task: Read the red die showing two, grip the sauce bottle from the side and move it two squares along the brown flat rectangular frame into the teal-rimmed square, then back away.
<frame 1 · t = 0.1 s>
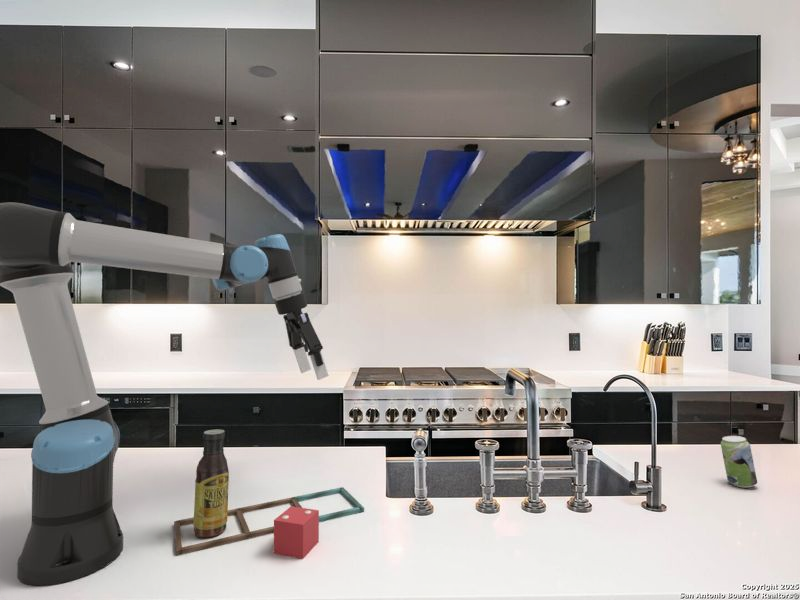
hand: (314, 374, 115), 28 cm above the countertop, tool tilted 20°, fingers open, 13 cm apart
sauce bottle: (211, 532, 89), resting in brown flat rectangular frame
beverage can: (739, 486, 112), on the countertop
brown flat rectangular frame: (272, 518, 95), on the countertop
red die: (296, 547, 83), on the countertop
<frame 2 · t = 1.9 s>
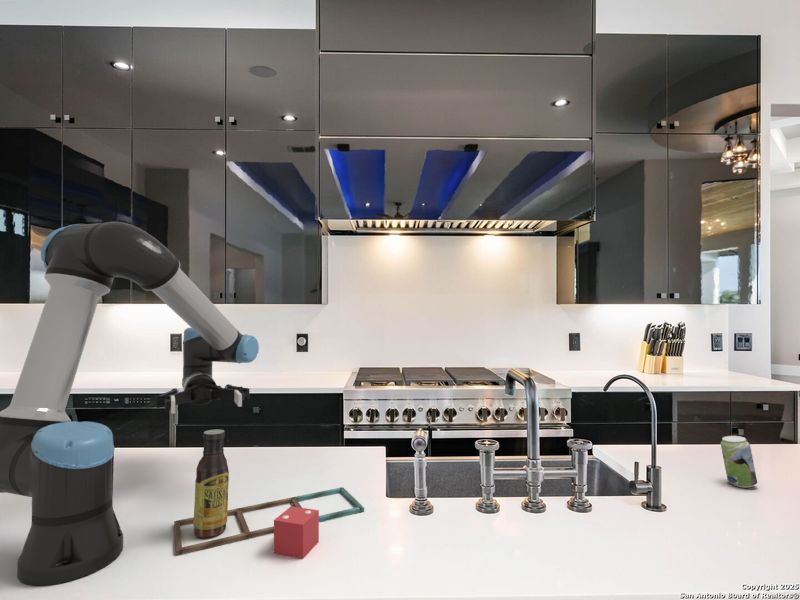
hand: (207, 403, 98), 24 cm above the countertop, tool horizontal, fingers open, 13 cm apart
nothing on the countertop moved.
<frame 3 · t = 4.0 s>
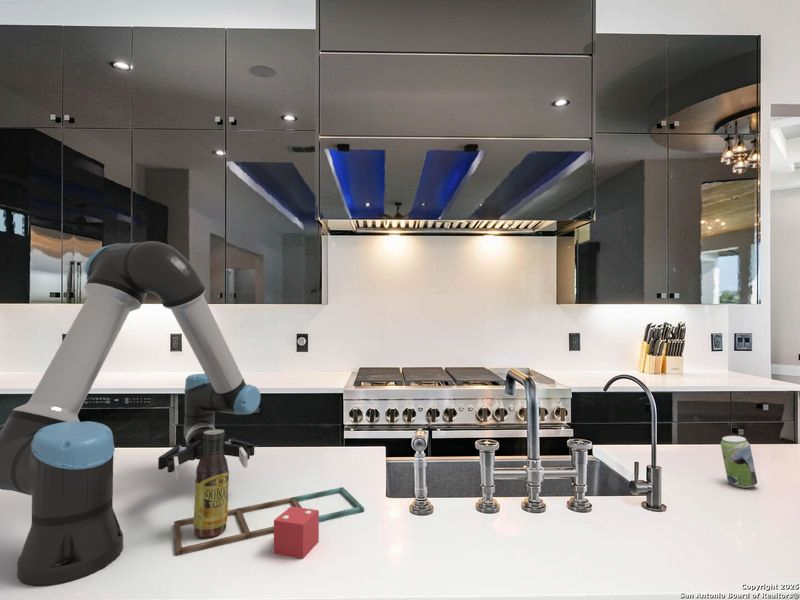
hand: (212, 466, 95), 11 cm above the countertop, tool horizontal, fingers open, 13 cm apart
nothing on the countertop moved.
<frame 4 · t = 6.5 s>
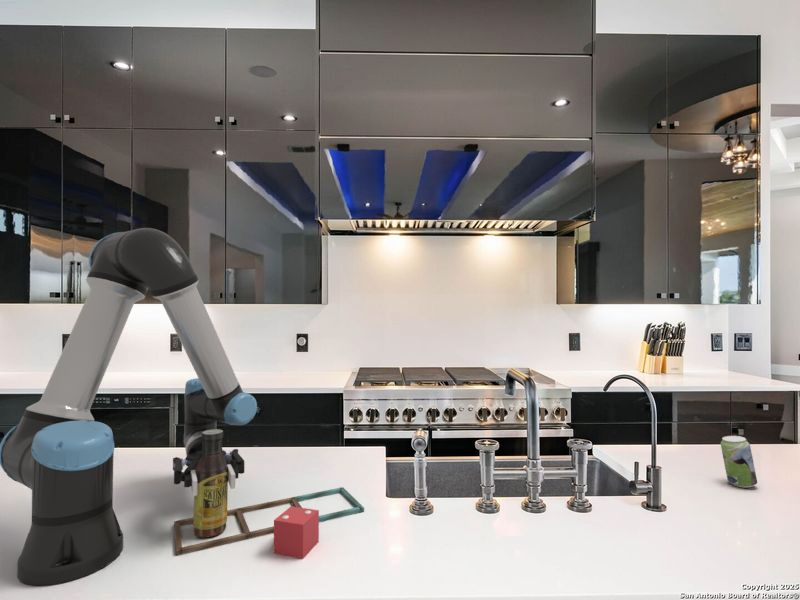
hand: (214, 484, 85), 11 cm above the countertop, tool horizontal, fingers closed on sauce bottle, 6 cm apart
sauce bottle: (211, 532, 89), resting in brown flat rectangular frame, touching gripper
everything else where it was.
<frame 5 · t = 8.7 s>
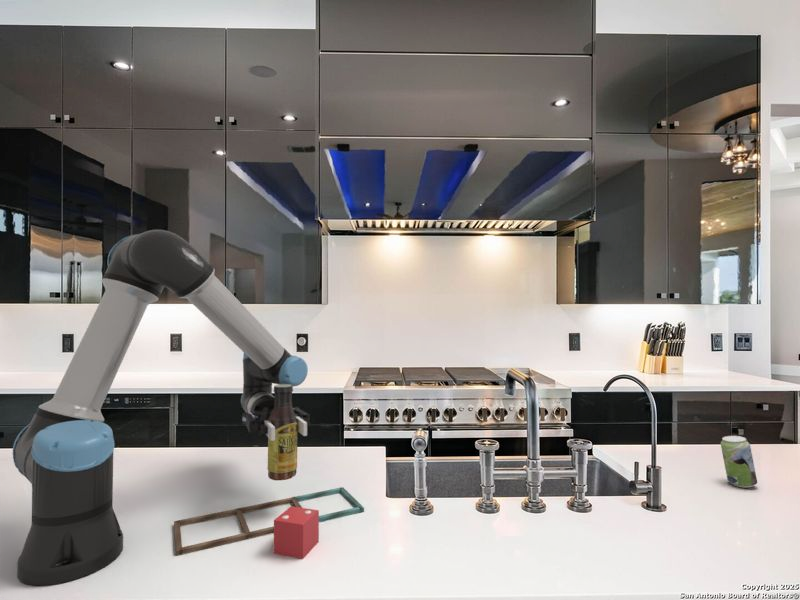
hand: (289, 431, 93), 19 cm above the countertop, tool horizontal, fingers closed on sauce bottle, 6 cm apart
sauce bottle: (283, 477, 98), point 8 cm above the countertop, touching gripper
everything else where it was.
when the fingers open (12 cm above the countertop, at t = 11.1 s): sauce bottle drops 1 cm, resting in brown flat rectangular frame.
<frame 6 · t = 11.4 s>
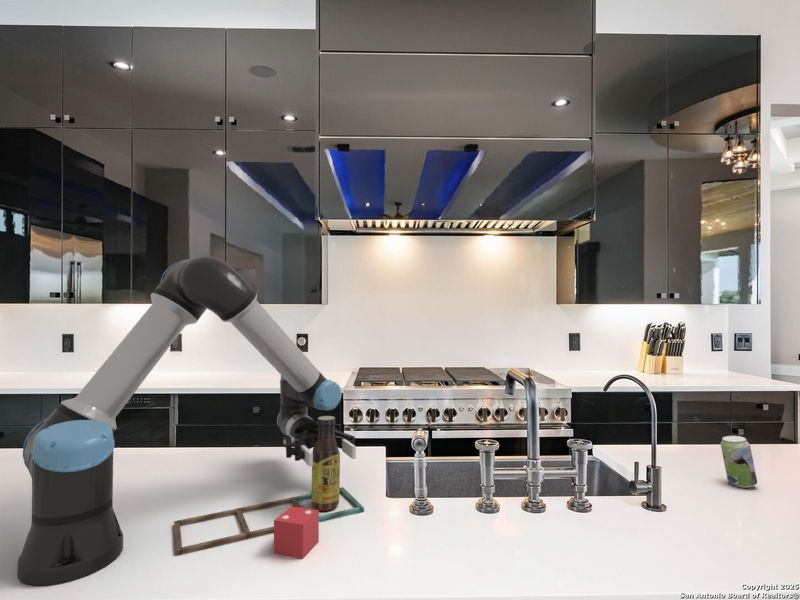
hand: (333, 456, 97), 12 cm above the countertop, tool horizontal, fingers open, 9 cm apart
sauce bottle: (326, 507, 101), resting in brown flat rectangular frame
everything else where it was.
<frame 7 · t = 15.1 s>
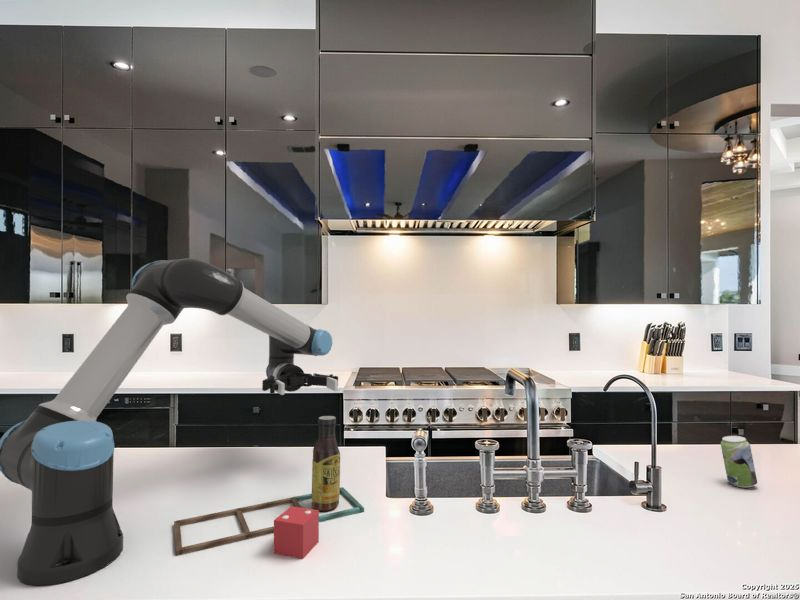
hand: (310, 387, 111), 25 cm above the countertop, tool horizontal, fingers open, 13 cm apart
nothing on the countertop moved.
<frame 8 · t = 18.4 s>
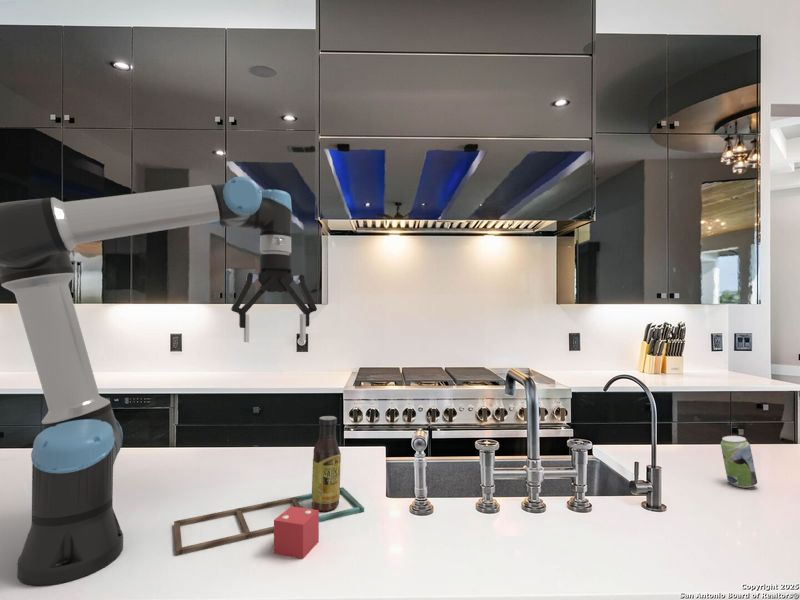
hand: (275, 341, 109), 37 cm above the countertop, tool pointing down, fingers open, 13 cm apart
nothing on the countertop moved.
at the end: sauce bottle 0.0 cm from the target spot on the brown flat rectangular frame, point 0.0 cm above the brown flat rectangular frame's base; sauce bottle tilted 0°; the gripper is holding nothing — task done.
